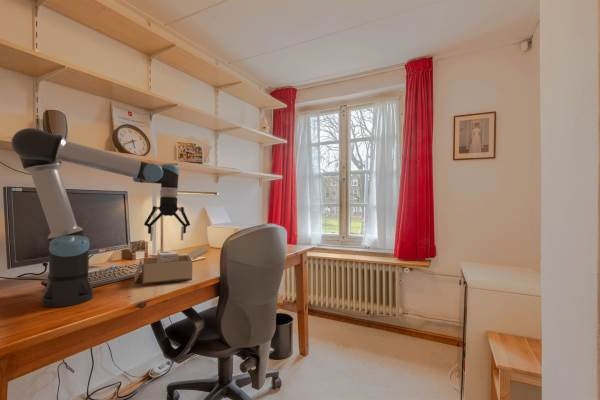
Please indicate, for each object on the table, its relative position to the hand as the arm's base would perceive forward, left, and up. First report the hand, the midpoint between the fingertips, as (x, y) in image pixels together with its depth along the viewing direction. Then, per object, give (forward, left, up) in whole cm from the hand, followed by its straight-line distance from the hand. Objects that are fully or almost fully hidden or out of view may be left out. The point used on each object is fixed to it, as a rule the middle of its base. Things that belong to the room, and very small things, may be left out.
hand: (166, 240), depth 141 cm
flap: (+11, +1, -9) cm, 14 cm away
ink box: (+1, 0, -18) cm, 18 cm away
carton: (-1, +1, -19) cm, 18 cm away
